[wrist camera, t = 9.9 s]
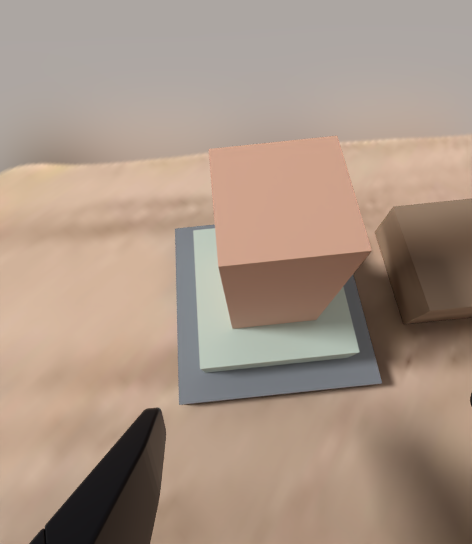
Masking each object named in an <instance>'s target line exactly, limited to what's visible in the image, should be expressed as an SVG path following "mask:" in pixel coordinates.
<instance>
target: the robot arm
mask: <svg viewBox="0 0 472 544" xmlns="http://www.w3.org/2000/svg"><path fill="white" fill-rule="evenodd" d="M470 402H471V406H472V393H471V397H470ZM165 441H166V428H165V424H164V420H163V416H162V411H161V409H160V408H148V409H145V410H144V411H143V412H142V413H141V415H140V416H139V417H138V418H137V419H136V420H135V422H134V423H133V424H132V425H131V426H130V427H129V429H128V430H127V431H126V432H125V433H124V434H123V435H122V437H121V438H120V439H119V440H118V441H117V442H116V444H115V445H114V446H113V447H112V448H111V449H110V451H109V452H108V453H107V454H106V455H105V456H104V458H103V459H102V460H101V461H100V462H99V463H98V465H97V466H96V467H95V468H94V469H93V470H92V471H91V473H90V474H89V475H88V476H87V477H86V478H85V480H84V481H83V482H82V483H81V484H80V485H79V487H78V488H77V489H76V490H75V491H74V492H73V494H72V495H71V496H70V497H69V498H68V499H67V501H66V502H65V503H64V504H63V505H62V506H61V508H60V509H59V510H58V511H57V512H56V513H55V514H54V516H53V517H52V518H51V519H50V520H49V521H48V523H47V524H46V525H45V529H41V531H40V532H39V533H38V534H37V535H36V536H35V538H34V539H33V540H32V541H31V542H30V543H29V544H150V541H151V536H152V531H153V527H154V522H155V517H156V512H157V507H158V502H159V496H160V489H161V480H162V470H163V460H164V451H165Z"/></svg>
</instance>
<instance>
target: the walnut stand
mask: <svg viewBox="0 0 472 544" xmlns="http://www.w3.org/2000/svg"><path fill="white" fill-rule="evenodd" d="M375 234H376V237H377V241H378V244H379V247H380V250H381V253H382V257H383V260H384V263H385V266H386V269H387V273H388V276H389V279H390V282H391V285H392V289H393V292H394V295H395V298H396V301H397V305H398V308H399V311H400V314H401V317H402V321H403V324H413V323H423V322H432V321H442V320H451V319H461V318H470V317H472V199H463V200H454V201H444V202H435V203H425V204H415V205H406V206H396V207H393V208H392V209H391V211H390V212H389V213H388V215H387V216H386V218H385V219H384V220H383V222H382V223H381V224H380V226H379V227H378V228H377V230H376V231H375Z"/></svg>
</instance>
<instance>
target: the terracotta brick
mask: <svg viewBox="0 0 472 544" xmlns="http://www.w3.org/2000/svg"><path fill="white" fill-rule="evenodd" d="M209 160H210V172H211V184H212V196H213V209H214V221H215V233H216V245H217V257H218V268H219V272H220V276H221V281H222V285H223V290H224V294H225V299H226V303H227V307H228V312H229V316H230V321H231V325H232V329H236V328H245V327H254V326H264V325H273V324H283V323H292V322H302V321H311V320H317V318H318V317H319V316H320V315H321V313H322V312H323V311H324V310H325V308H326V307H327V306H328V305H329V303H330V302H331V301H332V300H333V298H334V297H335V296H336V295H337V294H338V292H339V291H340V290H341V289H342V287H343V286H344V285H345V284H346V282H347V281H348V280H349V279H350V277H351V276H352V275H353V274H354V272H355V271H356V270H357V269H358V267H359V266H360V265H361V264H362V262H363V261H364V260H365V259H366V257H367V256H368V255H369V254H370V252H371V251H372V249H371V246H370V242H369V239H368V236H367V233H366V229H365V226H364V223H363V219H362V216H361V213H360V209H359V206H358V203H357V199H356V196H355V193H354V189H353V186H352V183H351V179H350V176H349V173H348V170H347V166H346V163H345V160H344V156H343V153H342V150H341V146H340V143H339V140H338V136H329V137H321V138H310V139H301V140H291V141H282V142H273V143H262V144H253V145H244V146H234V147H225V148H215V149H209Z"/></svg>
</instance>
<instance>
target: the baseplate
mask: <svg viewBox="0 0 472 544" xmlns="http://www.w3.org/2000/svg"><path fill="white" fill-rule="evenodd" d="M212 228H215V225H206V226H197V227H187V228H177V229H175V245H176V289H177V333H178V377H179V405H184V404H193V403H203V402H212V401H222V400H231V399H241V398H250V397H260V396H269V395H279V394H288V393H298V392H307V391H317V390H326V389H336V388H346V387H355V386H365V385H374V384H381V383H382V381H381V377H380V373H379V369H378V366H377V362H376V358H375V354H374V350H373V347H372V343H371V339H370V335H369V332H368V328H367V324H366V320H365V317H364V313H363V309H362V305H361V301H360V298H359V294H358V290H357V286H356V283H355V279H354V275H352V276H351V277H350V279H349V280H348V281H347V282H346V284H345V285H344V286H343V287H344V291H345V295H346V299H347V303H348V307H349V311H350V315H351V319H352V323H353V327H354V331H355V336H356V340H357V344H358V348H359V353H357V354H355V355H353V356H351V357H348V358H341V359H331V360H322V361H312V362H303V363H293V364H284V365H274V366H264V367H255V368H245V369H236V370H226V371H217V372H207V373H205V372H204V371H202V370H201V369H200V359H199V338H198V318H197V298H196V277H195V257H194V236H193V230H202V229H212Z"/></svg>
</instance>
